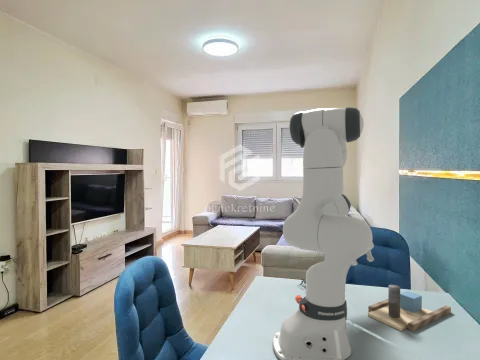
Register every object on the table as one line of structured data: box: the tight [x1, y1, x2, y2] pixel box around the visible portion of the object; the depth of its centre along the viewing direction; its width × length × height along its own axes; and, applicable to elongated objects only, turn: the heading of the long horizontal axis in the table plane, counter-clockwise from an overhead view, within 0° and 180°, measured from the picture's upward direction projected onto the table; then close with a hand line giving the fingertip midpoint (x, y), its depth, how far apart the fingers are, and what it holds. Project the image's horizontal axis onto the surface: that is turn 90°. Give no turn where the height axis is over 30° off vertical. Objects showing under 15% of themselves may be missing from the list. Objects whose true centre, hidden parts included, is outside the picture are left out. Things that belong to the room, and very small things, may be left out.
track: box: [367, 298, 452, 332], centre depth 107 cm, size 24×16×3 cm, turn 121°
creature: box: [297, 276, 306, 287], centre depth 134 cm, size 8×5×8 cm
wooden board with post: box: [367, 284, 433, 332], centre depth 104 cm, size 20×12×11 cm, turn 121°
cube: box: [400, 290, 423, 313], centre depth 107 cm, size 5×5×5 cm
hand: (363, 262), depth 112 cm, fingers open, 8 cm apart
